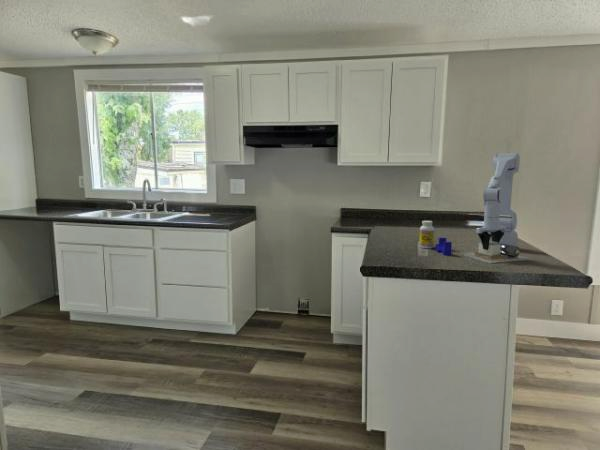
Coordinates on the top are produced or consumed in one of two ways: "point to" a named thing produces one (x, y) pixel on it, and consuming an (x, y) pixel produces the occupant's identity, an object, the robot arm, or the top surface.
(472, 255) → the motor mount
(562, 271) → the top surface
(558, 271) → the top surface
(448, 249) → the cable clip
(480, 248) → the block
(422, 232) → the supplement bottle
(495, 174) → the robot arm
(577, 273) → the top surface
